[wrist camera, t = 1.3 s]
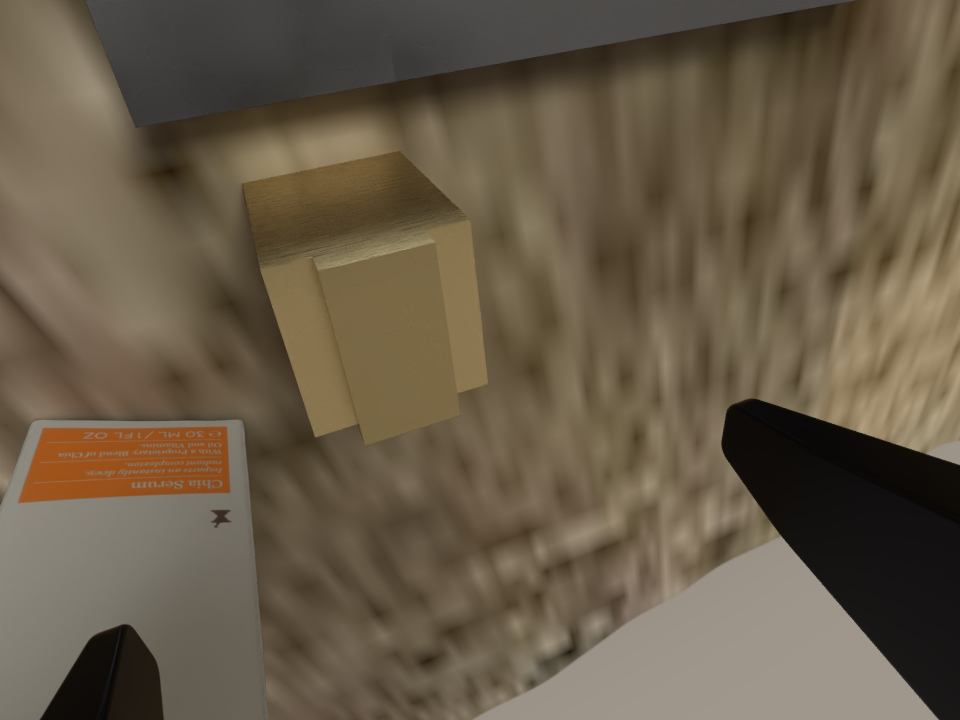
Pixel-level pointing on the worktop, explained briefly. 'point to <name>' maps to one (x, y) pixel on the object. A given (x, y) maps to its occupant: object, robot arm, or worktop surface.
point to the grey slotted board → (359, 42)
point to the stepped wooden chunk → (371, 293)
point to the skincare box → (132, 562)
